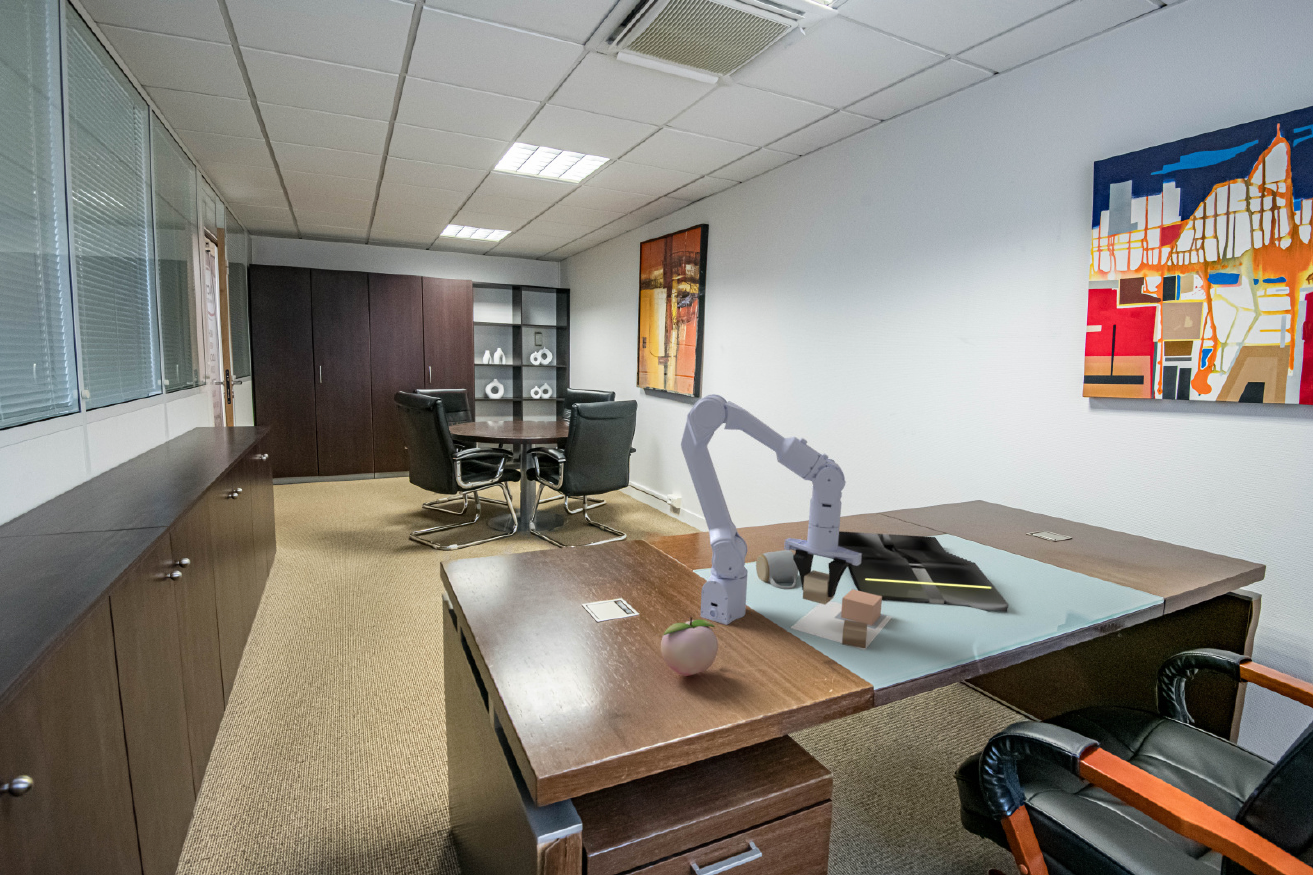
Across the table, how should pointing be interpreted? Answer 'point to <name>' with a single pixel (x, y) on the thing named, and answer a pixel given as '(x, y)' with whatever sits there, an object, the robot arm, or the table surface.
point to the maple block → (816, 587)
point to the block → (854, 634)
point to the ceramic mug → (777, 568)
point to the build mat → (834, 623)
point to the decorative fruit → (689, 646)
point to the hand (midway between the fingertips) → (818, 592)
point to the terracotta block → (861, 607)
